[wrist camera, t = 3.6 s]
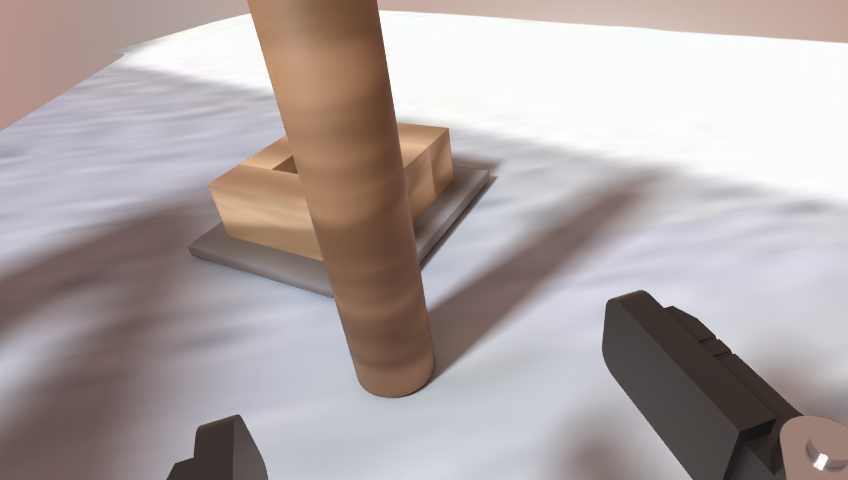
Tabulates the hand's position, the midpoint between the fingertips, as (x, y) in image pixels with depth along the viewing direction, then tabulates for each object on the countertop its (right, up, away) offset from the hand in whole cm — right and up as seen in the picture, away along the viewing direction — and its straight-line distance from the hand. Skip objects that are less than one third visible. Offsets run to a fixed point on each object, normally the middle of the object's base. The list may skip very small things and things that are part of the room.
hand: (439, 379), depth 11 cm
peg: (-2, -3, +15) cm, 16 cm away
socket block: (-6, +5, +28) cm, 29 cm away
